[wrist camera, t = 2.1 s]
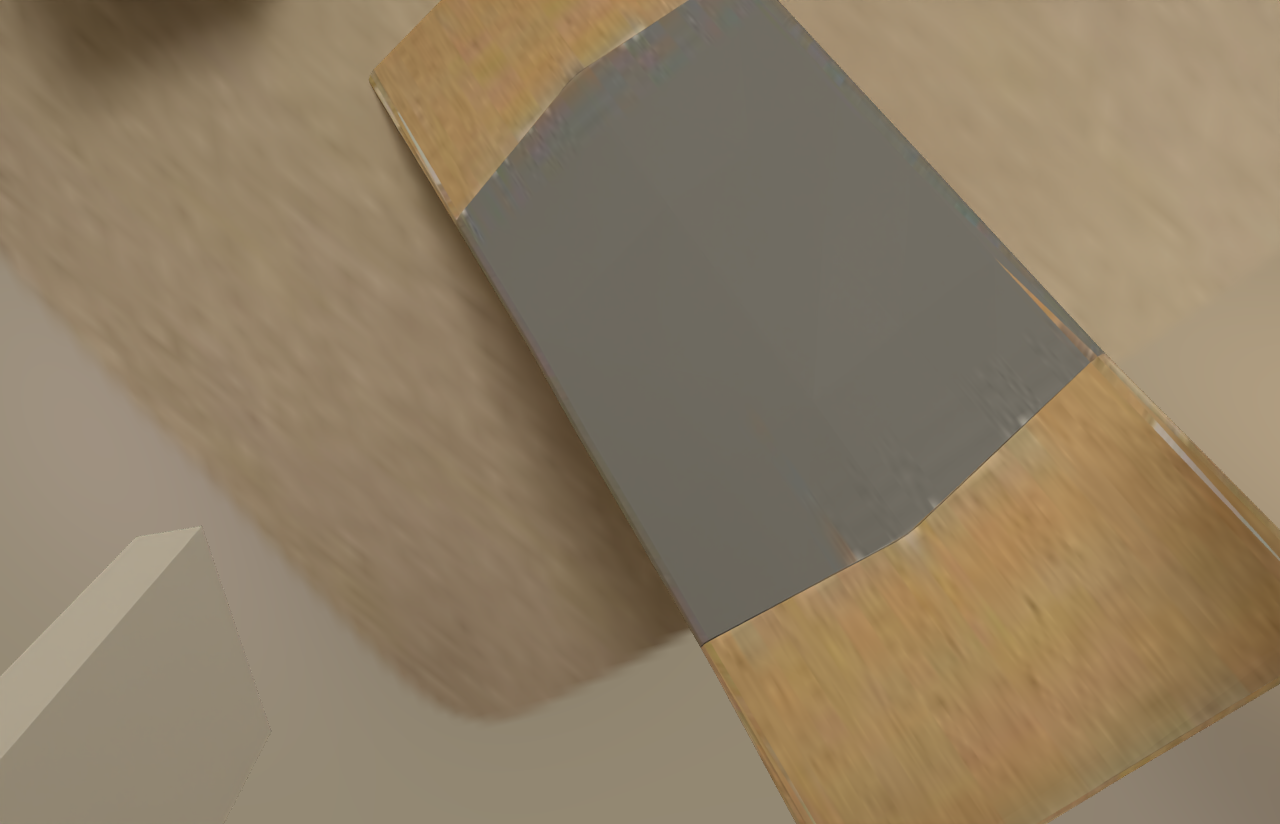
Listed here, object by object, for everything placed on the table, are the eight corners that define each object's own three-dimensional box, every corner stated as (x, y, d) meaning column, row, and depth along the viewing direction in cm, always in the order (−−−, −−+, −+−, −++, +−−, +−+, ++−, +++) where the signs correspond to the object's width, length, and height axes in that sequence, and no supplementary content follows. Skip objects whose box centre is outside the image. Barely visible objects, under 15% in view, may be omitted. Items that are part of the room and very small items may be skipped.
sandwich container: (628, -185, 24) (630, -460, 10) (1014, 324, 28) (1392, 627, 14) (354, 77, 26) (36, 148, 12) (753, 520, 30) (862, 961, 16)
